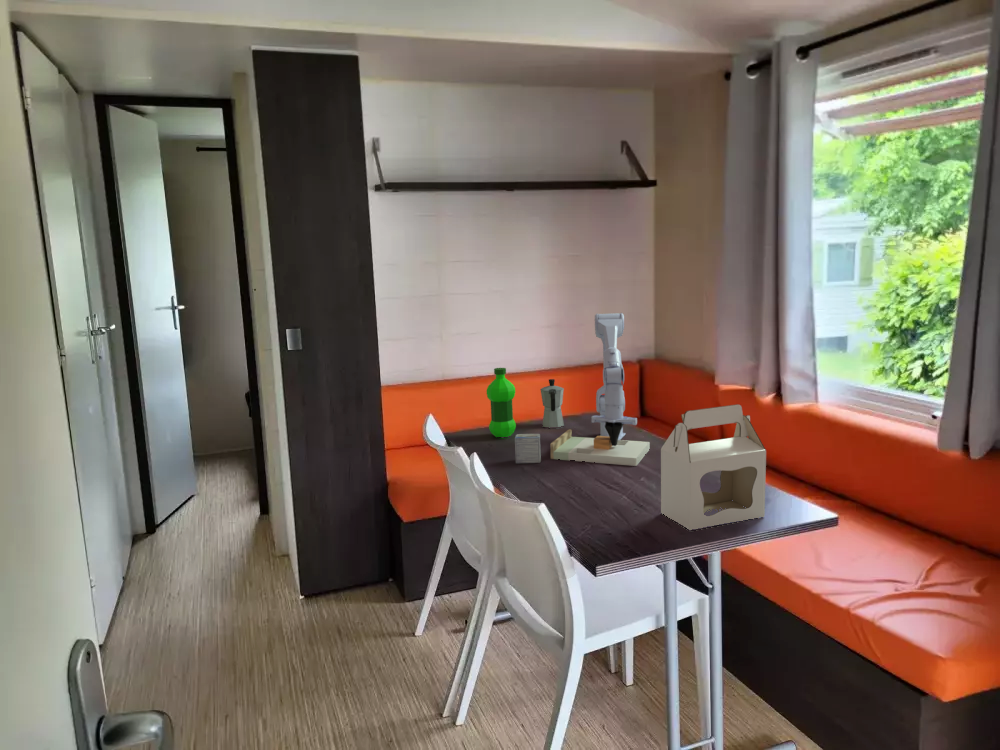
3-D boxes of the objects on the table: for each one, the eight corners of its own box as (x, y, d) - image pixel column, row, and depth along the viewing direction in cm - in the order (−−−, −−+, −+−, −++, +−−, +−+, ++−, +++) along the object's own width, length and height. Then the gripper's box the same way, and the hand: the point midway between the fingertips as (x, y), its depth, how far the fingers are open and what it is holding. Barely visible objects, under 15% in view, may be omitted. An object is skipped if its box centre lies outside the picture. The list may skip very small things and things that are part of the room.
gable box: (733, 500, 200) (734, 397, 195) (765, 517, 188) (768, 408, 183) (659, 514, 193) (659, 407, 188) (688, 532, 181) (689, 418, 175)
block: (597, 444, 249) (597, 435, 248) (612, 445, 247) (612, 436, 246) (593, 448, 245) (593, 439, 244) (608, 449, 243) (608, 440, 242)
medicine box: (541, 459, 244) (540, 433, 242) (540, 463, 240) (539, 437, 238) (516, 459, 245) (515, 433, 243) (515, 463, 240) (514, 437, 239)
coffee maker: (541, 422, 292) (539, 376, 289) (563, 421, 292) (562, 375, 288) (542, 432, 277) (540, 384, 274) (566, 431, 277) (564, 383, 274)
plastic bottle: (487, 440, 269) (484, 371, 264) (491, 432, 279) (488, 366, 275) (515, 440, 268) (512, 371, 263) (518, 432, 278) (515, 365, 273)
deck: (569, 443, 261) (568, 429, 260) (649, 449, 250) (649, 434, 249) (550, 458, 244) (550, 443, 243) (636, 466, 233) (636, 450, 232)
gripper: (588, 405, 241) (589, 446, 244) (633, 408, 235) (633, 449, 238) (594, 401, 247) (595, 440, 250) (638, 403, 242) (638, 444, 244)
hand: (614, 445), depth 244 cm, fingers closed
